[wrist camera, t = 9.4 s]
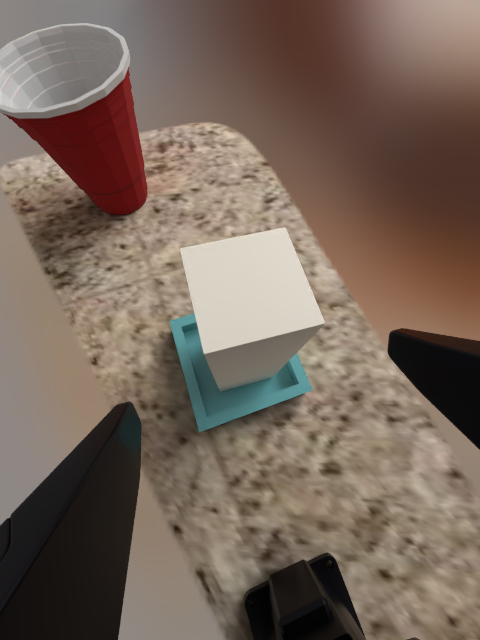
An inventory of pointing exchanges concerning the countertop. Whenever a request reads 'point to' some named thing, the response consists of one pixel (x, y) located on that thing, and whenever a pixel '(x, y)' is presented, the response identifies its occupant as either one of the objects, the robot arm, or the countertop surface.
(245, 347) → the cream block
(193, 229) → the countertop surface
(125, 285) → the countertop surface
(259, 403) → the teal dish
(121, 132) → the plastic cup
